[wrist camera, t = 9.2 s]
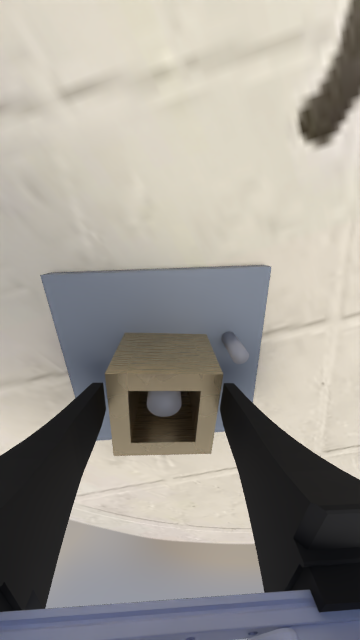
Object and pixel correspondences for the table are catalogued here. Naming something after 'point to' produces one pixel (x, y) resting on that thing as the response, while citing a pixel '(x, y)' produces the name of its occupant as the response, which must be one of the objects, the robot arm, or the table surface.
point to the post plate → (159, 321)
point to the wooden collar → (163, 375)
